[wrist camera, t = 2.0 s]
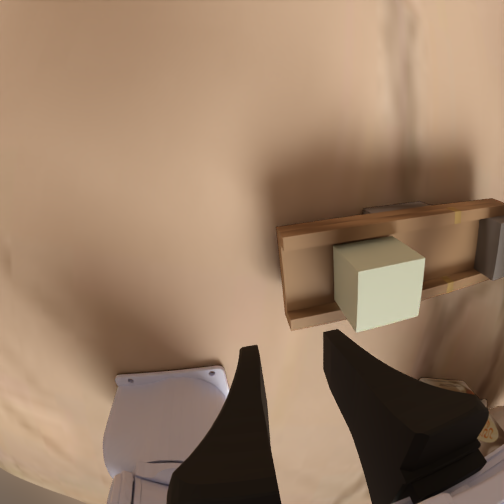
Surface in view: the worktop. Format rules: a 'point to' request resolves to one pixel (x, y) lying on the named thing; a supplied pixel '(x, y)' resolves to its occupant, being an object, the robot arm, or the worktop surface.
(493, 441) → the coffee box
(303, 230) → the beam
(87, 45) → the worktop surface
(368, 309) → the block
